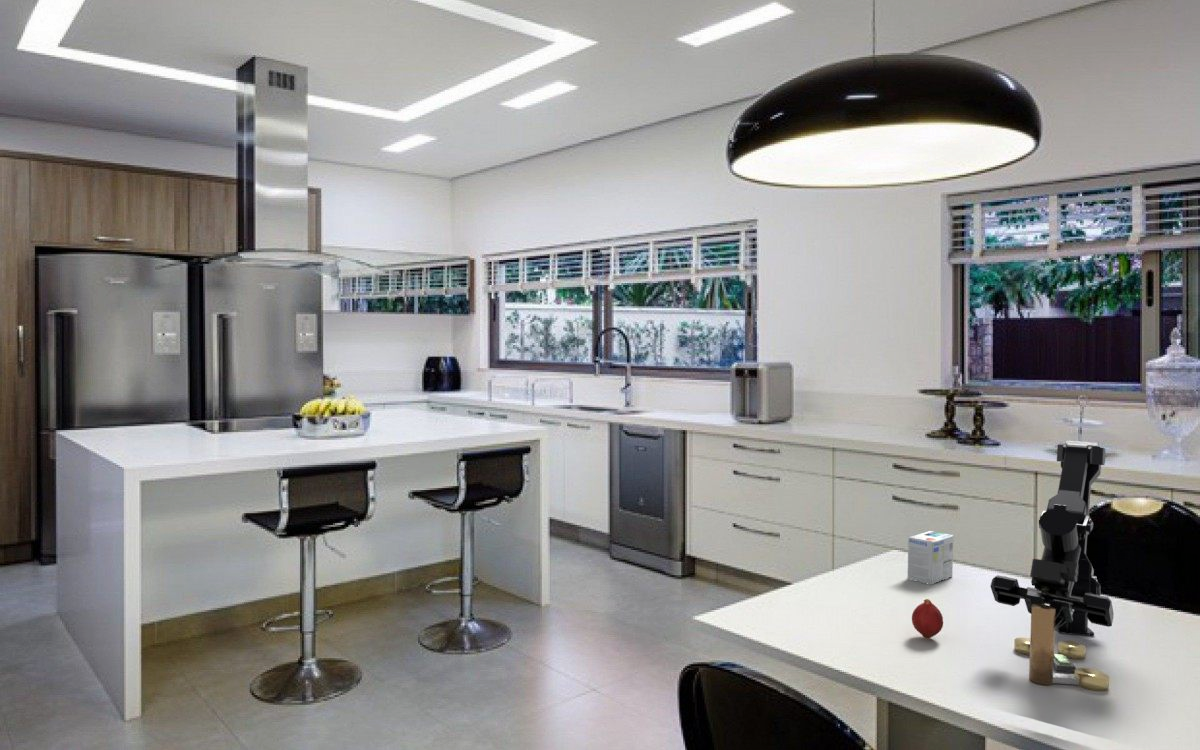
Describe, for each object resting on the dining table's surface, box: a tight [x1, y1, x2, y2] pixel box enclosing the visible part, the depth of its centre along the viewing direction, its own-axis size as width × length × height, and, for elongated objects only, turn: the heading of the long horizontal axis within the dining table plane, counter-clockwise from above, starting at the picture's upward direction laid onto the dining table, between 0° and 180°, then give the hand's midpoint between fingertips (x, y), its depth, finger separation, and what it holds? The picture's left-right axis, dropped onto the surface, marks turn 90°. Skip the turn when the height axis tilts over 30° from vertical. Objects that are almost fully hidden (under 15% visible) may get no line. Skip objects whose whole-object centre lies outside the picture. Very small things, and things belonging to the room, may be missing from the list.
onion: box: [911, 598, 944, 640], centre depth 162 cm, size 6×6×8 cm
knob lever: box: [1028, 604, 1110, 692], centre depth 138 cm, size 12×5×13 cm, turn 82°
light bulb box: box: [907, 530, 955, 585], centre depth 202 cm, size 11×7×11 cm, turn 130°
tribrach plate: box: [1013, 637, 1086, 674], centre depth 145 cm, size 20×20×3 cm
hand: (1040, 642), depth 141 cm, fingers closed, pressing on knob lever
